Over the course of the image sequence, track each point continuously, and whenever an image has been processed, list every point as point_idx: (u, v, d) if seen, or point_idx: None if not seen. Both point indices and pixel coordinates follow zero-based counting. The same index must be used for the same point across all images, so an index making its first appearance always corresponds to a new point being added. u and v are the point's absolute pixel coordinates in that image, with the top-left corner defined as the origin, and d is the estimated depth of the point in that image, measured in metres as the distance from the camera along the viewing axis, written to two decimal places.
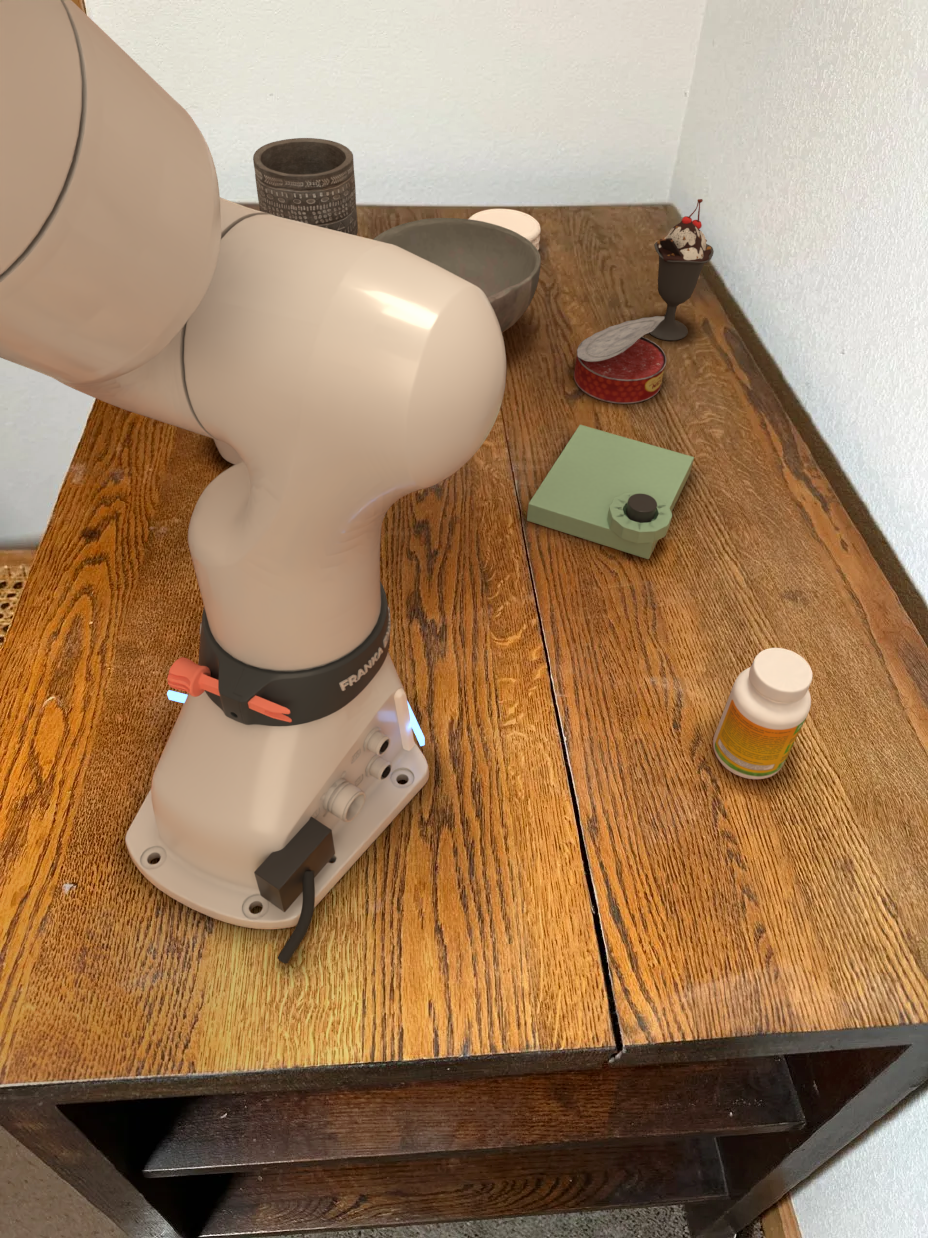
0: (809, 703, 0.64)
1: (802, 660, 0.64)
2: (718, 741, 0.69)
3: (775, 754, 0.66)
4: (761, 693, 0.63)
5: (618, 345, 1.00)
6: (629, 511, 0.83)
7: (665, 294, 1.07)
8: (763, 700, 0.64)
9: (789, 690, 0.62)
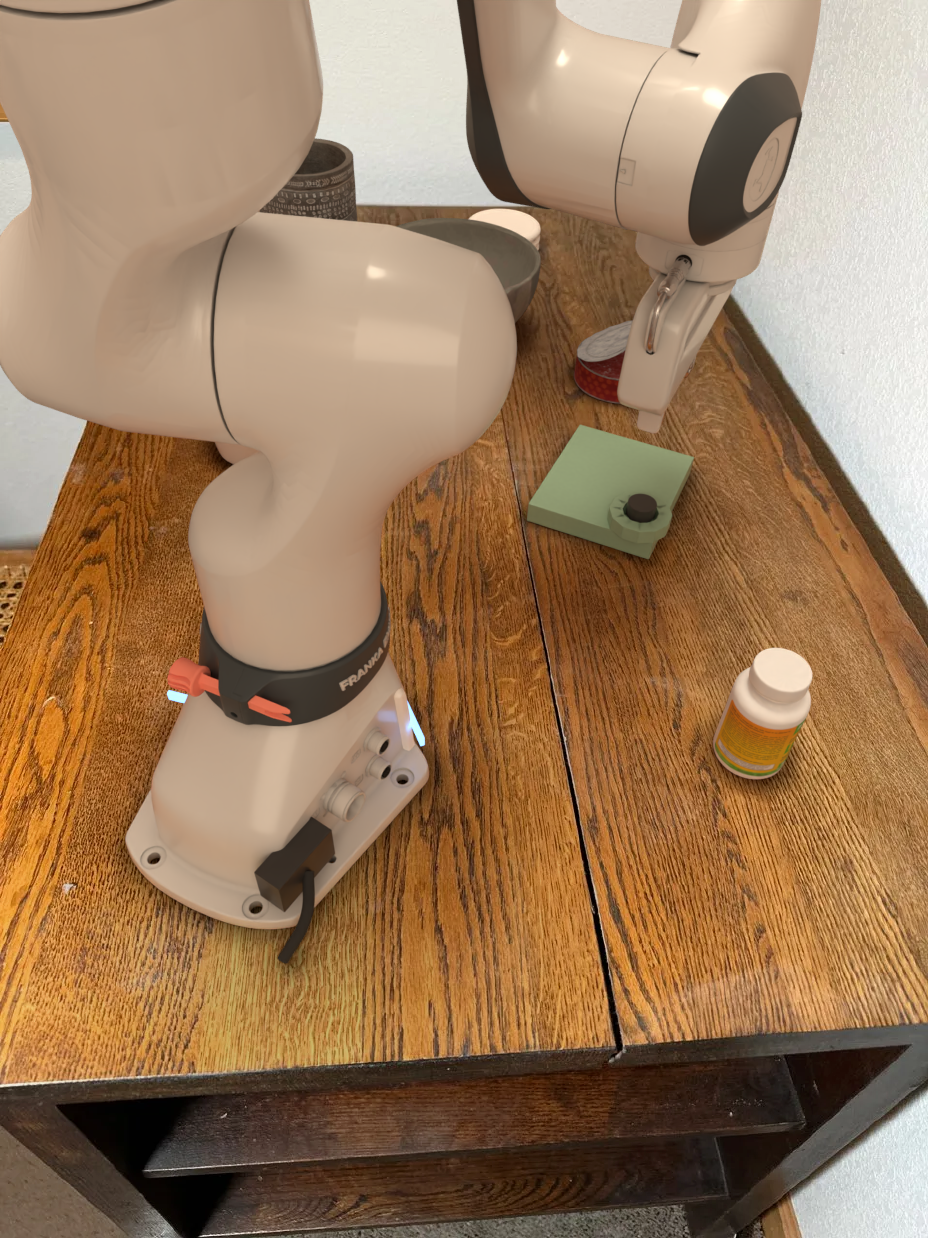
0: (809, 703, 0.64)
1: (802, 660, 0.64)
2: (718, 741, 0.69)
3: (775, 754, 0.66)
4: (760, 693, 0.63)
5: (618, 345, 1.00)
6: (629, 511, 0.83)
7: None
8: (763, 700, 0.64)
9: (789, 690, 0.62)
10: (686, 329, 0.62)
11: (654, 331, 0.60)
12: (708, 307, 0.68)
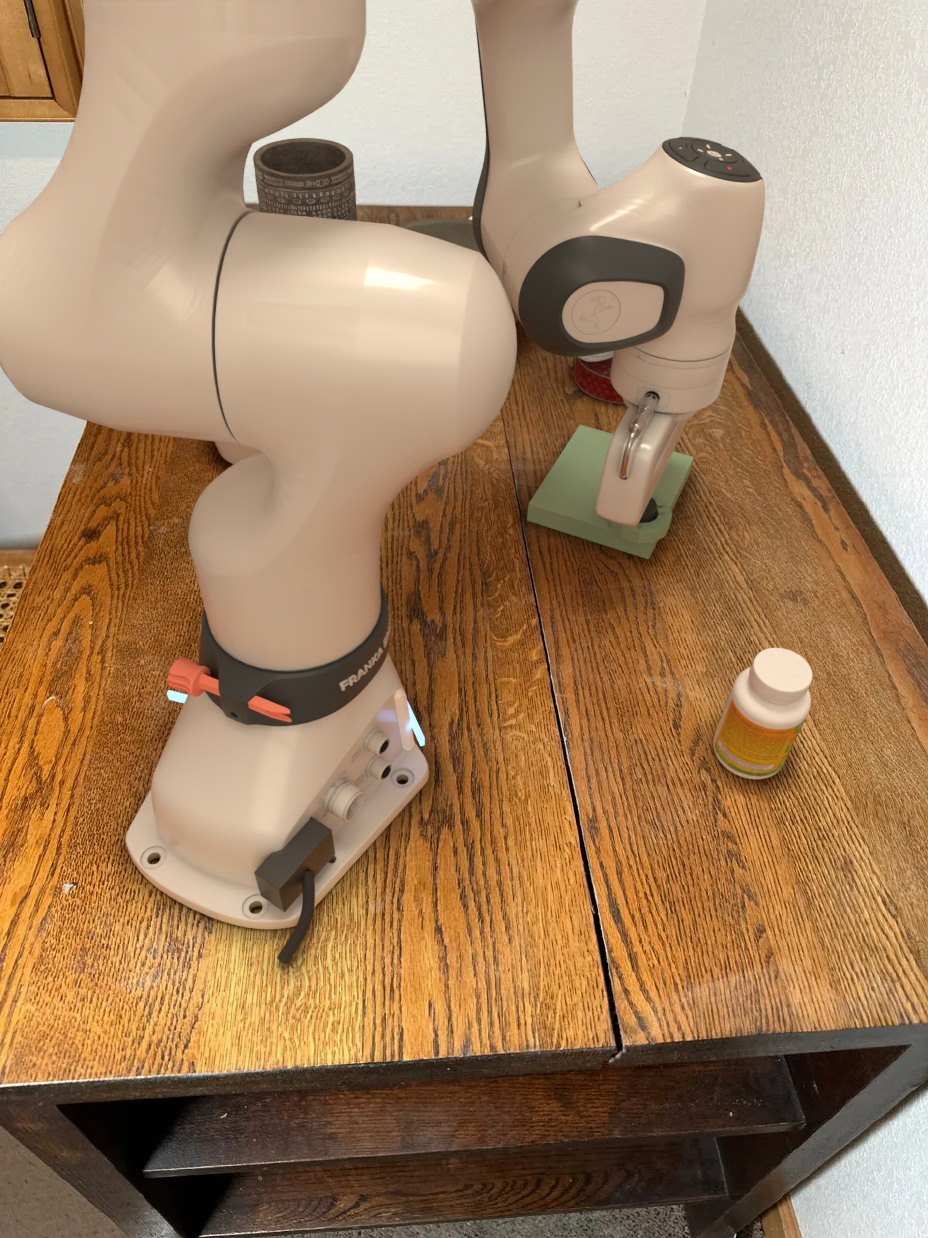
0: (809, 703, 0.64)
1: (802, 660, 0.64)
2: (718, 741, 0.69)
3: (775, 754, 0.66)
4: (760, 693, 0.63)
5: None
6: None
7: None
8: (763, 700, 0.64)
9: (789, 690, 0.62)
10: (655, 458, 0.70)
11: (626, 462, 0.68)
12: (676, 426, 0.76)
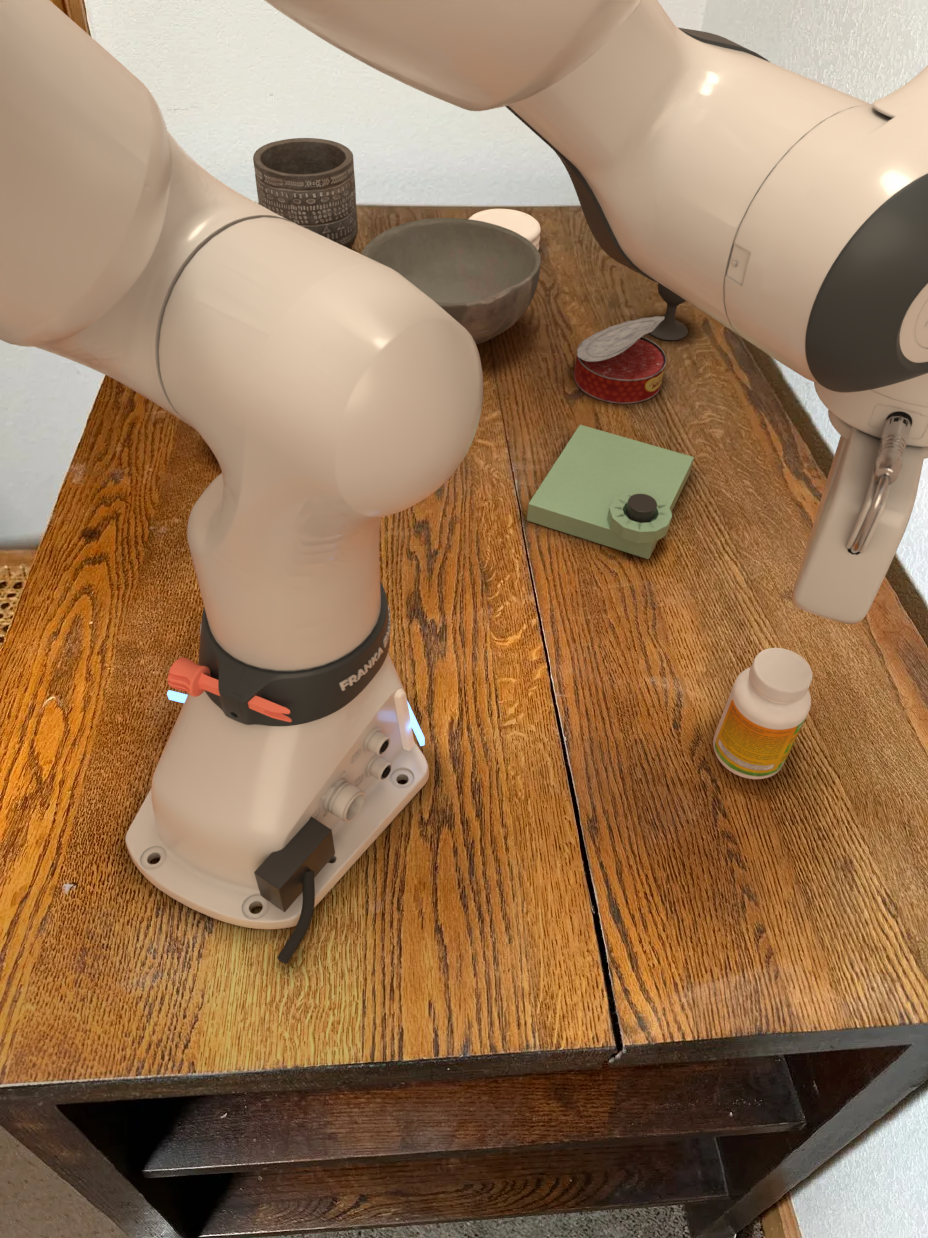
0: (809, 703, 0.64)
1: (802, 660, 0.64)
2: (718, 741, 0.69)
3: (775, 754, 0.66)
4: (760, 693, 0.63)
5: (618, 345, 1.00)
6: (629, 511, 0.83)
7: (665, 294, 1.07)
8: (763, 700, 0.64)
9: (789, 690, 0.62)
10: (908, 521, 0.43)
11: (869, 530, 0.42)
12: None
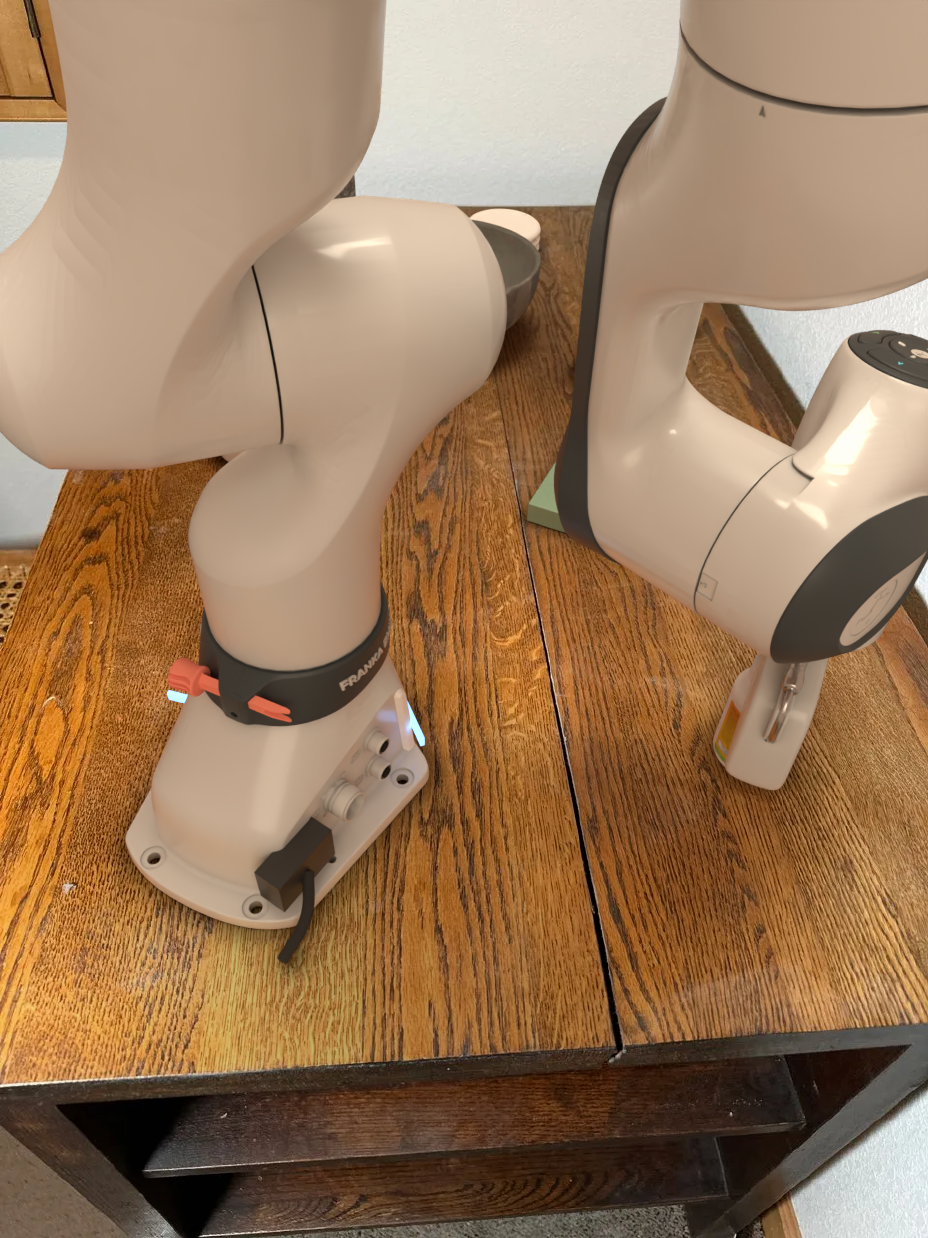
0: None
1: None
2: (718, 742, 0.69)
3: None
4: None
5: None
6: None
7: None
8: None
9: None
10: None
11: (778, 730, 0.52)
12: None
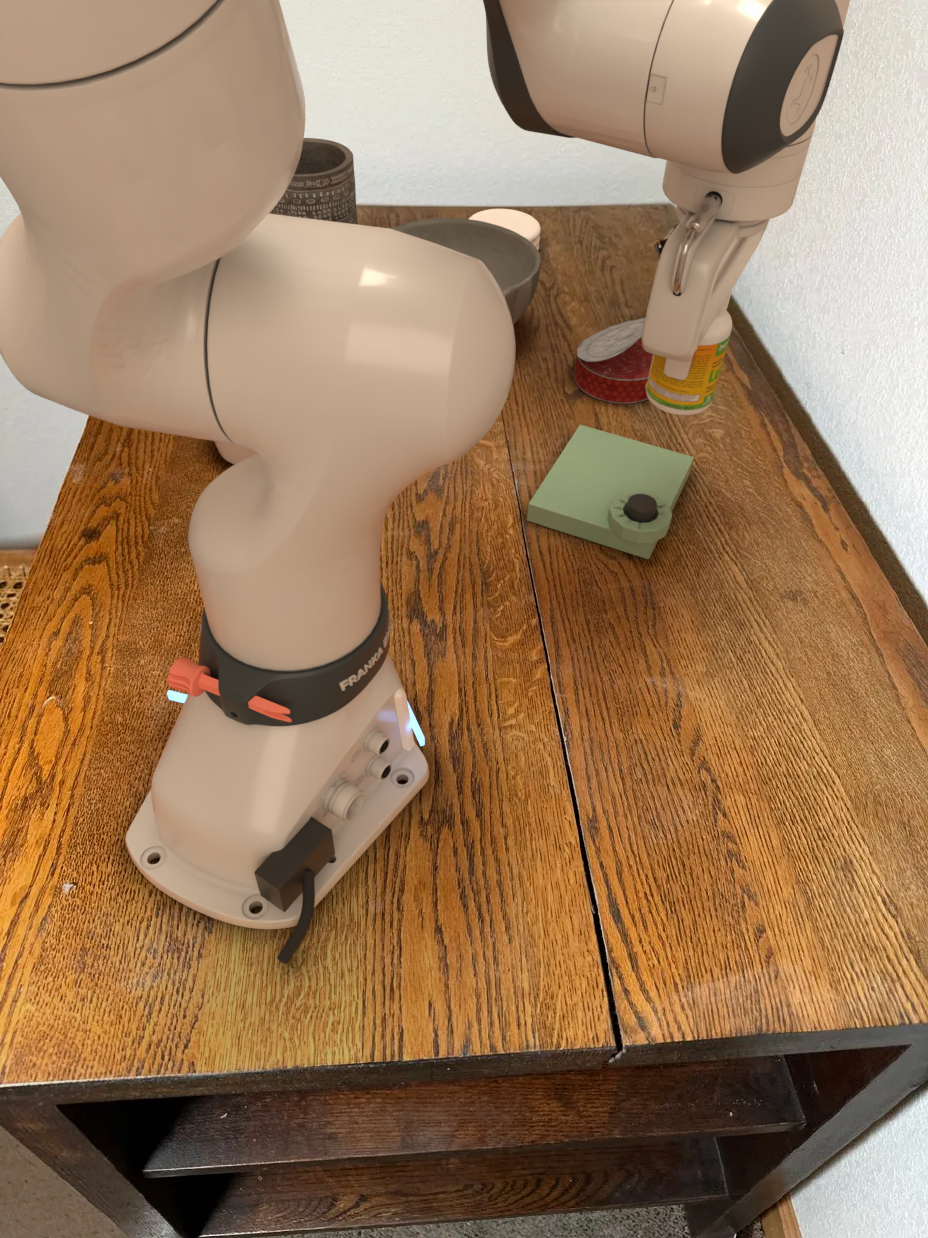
0: (730, 324, 0.69)
1: None
2: (649, 381, 0.74)
3: (700, 380, 0.71)
4: None
5: (618, 345, 1.00)
6: (629, 511, 0.83)
7: None
8: None
9: None
10: (715, 269, 0.59)
11: (682, 269, 0.57)
12: (737, 252, 0.65)
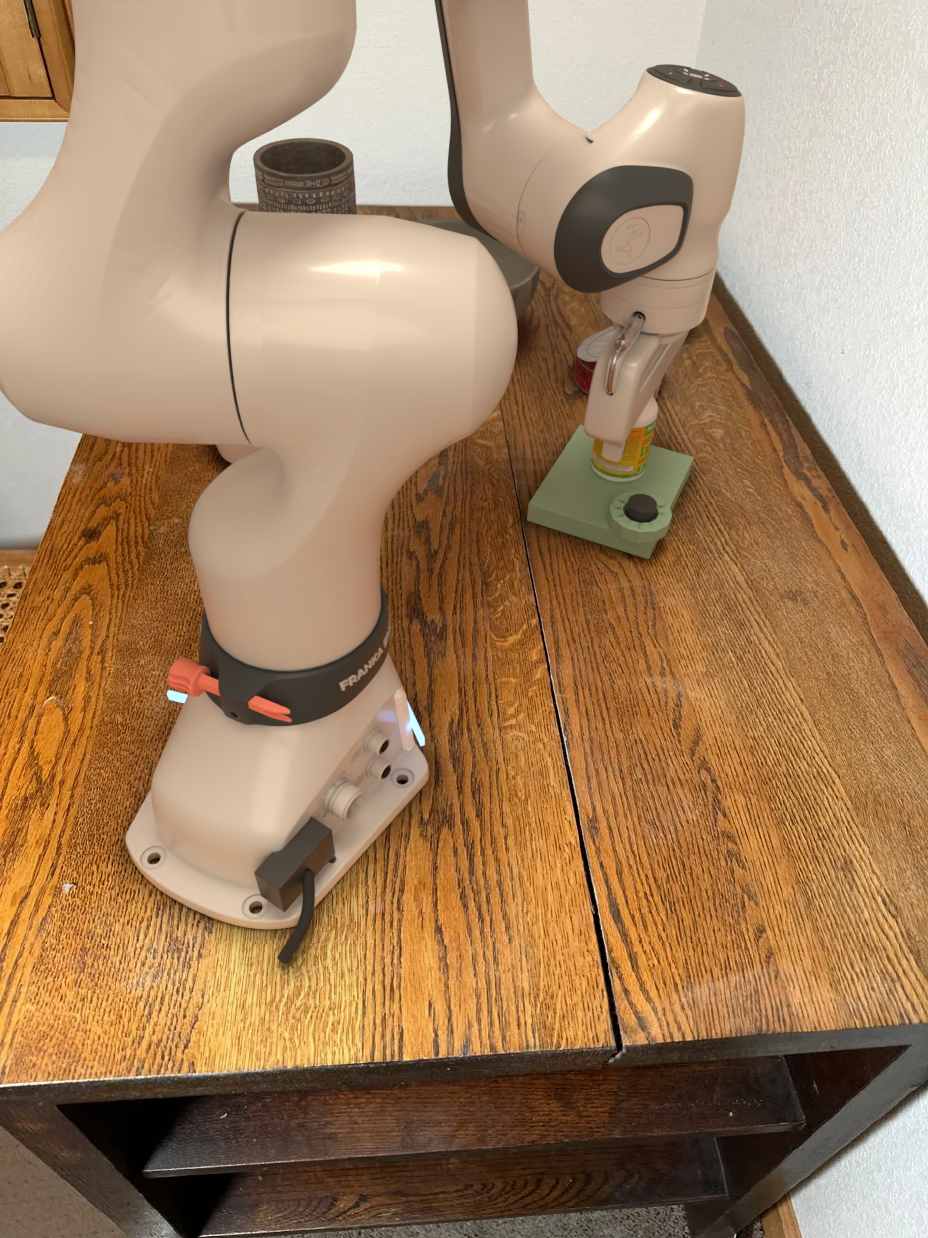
0: (655, 409, 0.84)
1: None
2: (592, 454, 0.89)
3: (633, 455, 0.86)
4: None
5: None
6: (629, 511, 0.83)
7: None
8: None
9: None
10: (640, 374, 0.73)
11: (612, 376, 0.72)
12: (663, 352, 0.80)
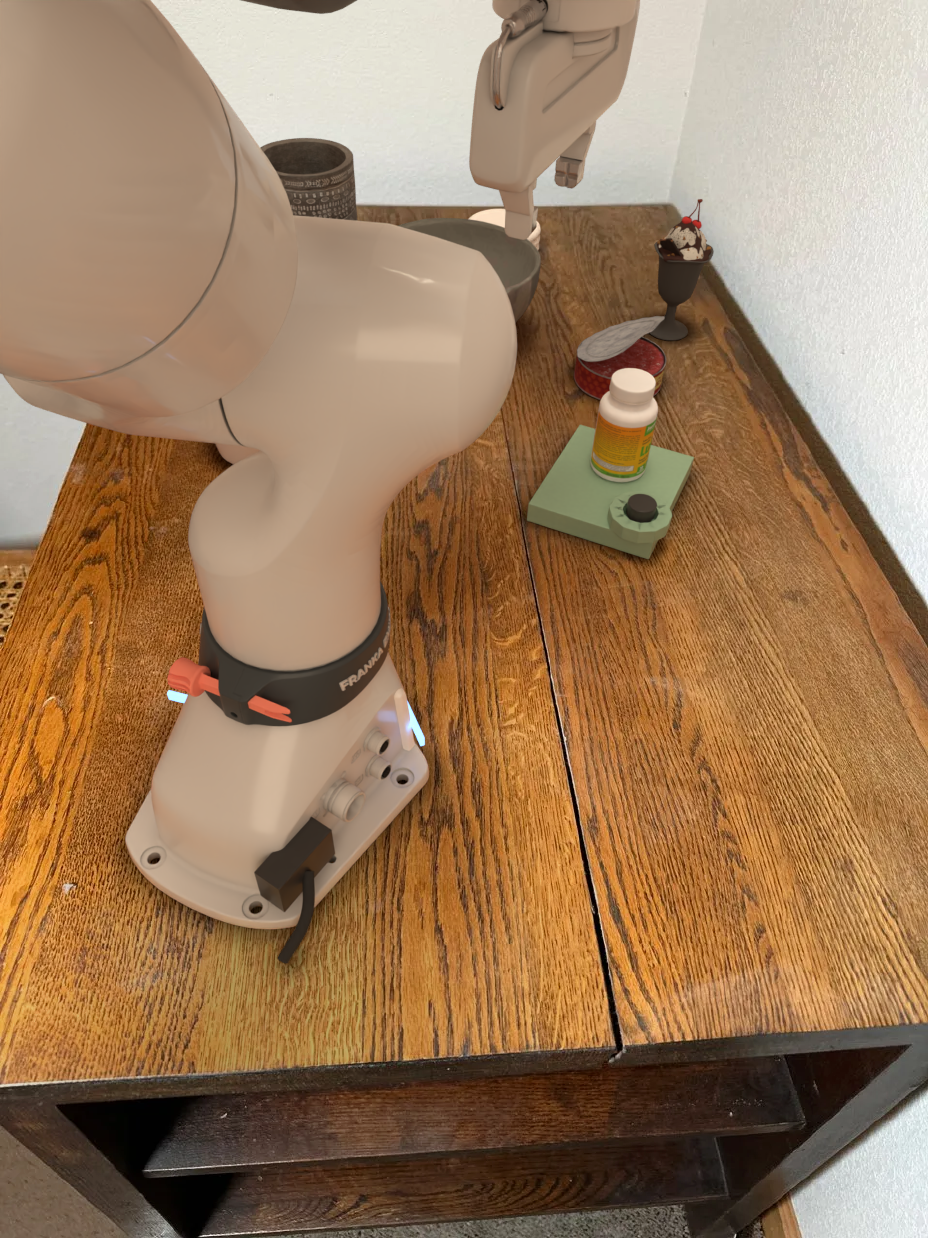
0: (655, 409, 0.84)
1: (649, 375, 0.84)
2: (592, 454, 0.89)
3: (633, 455, 0.86)
4: (616, 398, 0.83)
5: (618, 345, 1.00)
6: (629, 511, 0.83)
7: (665, 294, 1.07)
8: (619, 405, 0.84)
9: (636, 391, 0.82)
10: (539, 78, 0.53)
11: (498, 74, 0.52)
12: (580, 81, 0.60)
